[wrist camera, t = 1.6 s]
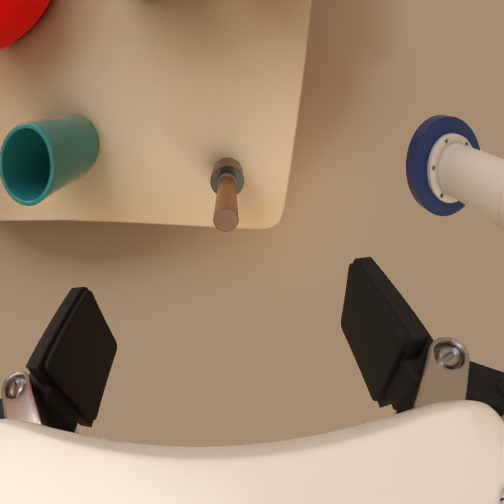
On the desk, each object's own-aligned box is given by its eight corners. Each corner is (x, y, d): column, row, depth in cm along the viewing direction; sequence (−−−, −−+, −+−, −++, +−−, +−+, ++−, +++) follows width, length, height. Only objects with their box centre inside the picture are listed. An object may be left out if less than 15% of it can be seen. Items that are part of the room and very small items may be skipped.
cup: (35, 119, 26) (-17, 131, 17) (102, 112, 28) (54, 118, 18) (36, 178, 31) (-11, 205, 21) (99, 178, 32) (57, 207, 22)
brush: (240, 156, 33) (248, 193, 19) (243, 183, 35) (253, 239, 21) (211, 159, 33) (197, 199, 19) (215, 187, 35) (205, 245, 21)
